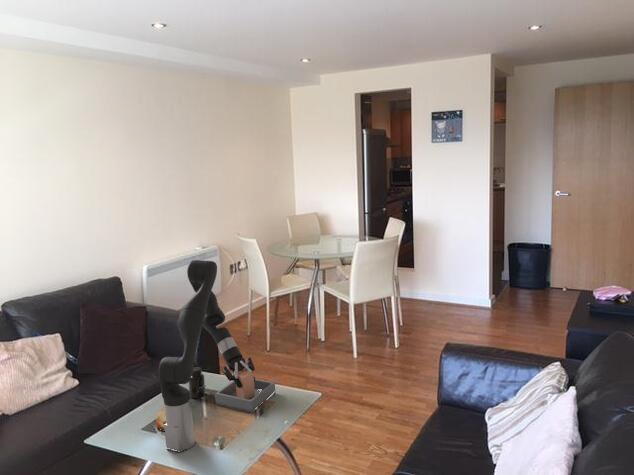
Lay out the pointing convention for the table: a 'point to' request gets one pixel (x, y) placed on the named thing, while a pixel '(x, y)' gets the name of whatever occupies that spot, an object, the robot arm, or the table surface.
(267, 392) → the charcoal bin
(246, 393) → the salmon pink block
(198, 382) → the supplement bottle
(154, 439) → the table surface
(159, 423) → the slice of bread
